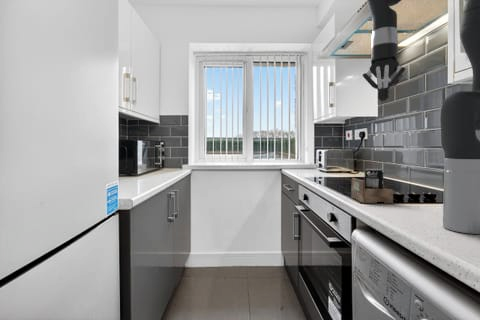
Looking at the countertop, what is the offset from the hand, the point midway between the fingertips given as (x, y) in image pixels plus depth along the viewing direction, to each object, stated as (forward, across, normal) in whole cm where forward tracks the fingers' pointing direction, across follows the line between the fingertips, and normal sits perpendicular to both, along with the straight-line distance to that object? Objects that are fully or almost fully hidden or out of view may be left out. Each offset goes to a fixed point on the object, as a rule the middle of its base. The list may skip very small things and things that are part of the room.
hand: (383, 101), depth 96 cm
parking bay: (+34, -8, +18) cm, 40 cm away
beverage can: (+35, -8, +18) cm, 40 cm away
